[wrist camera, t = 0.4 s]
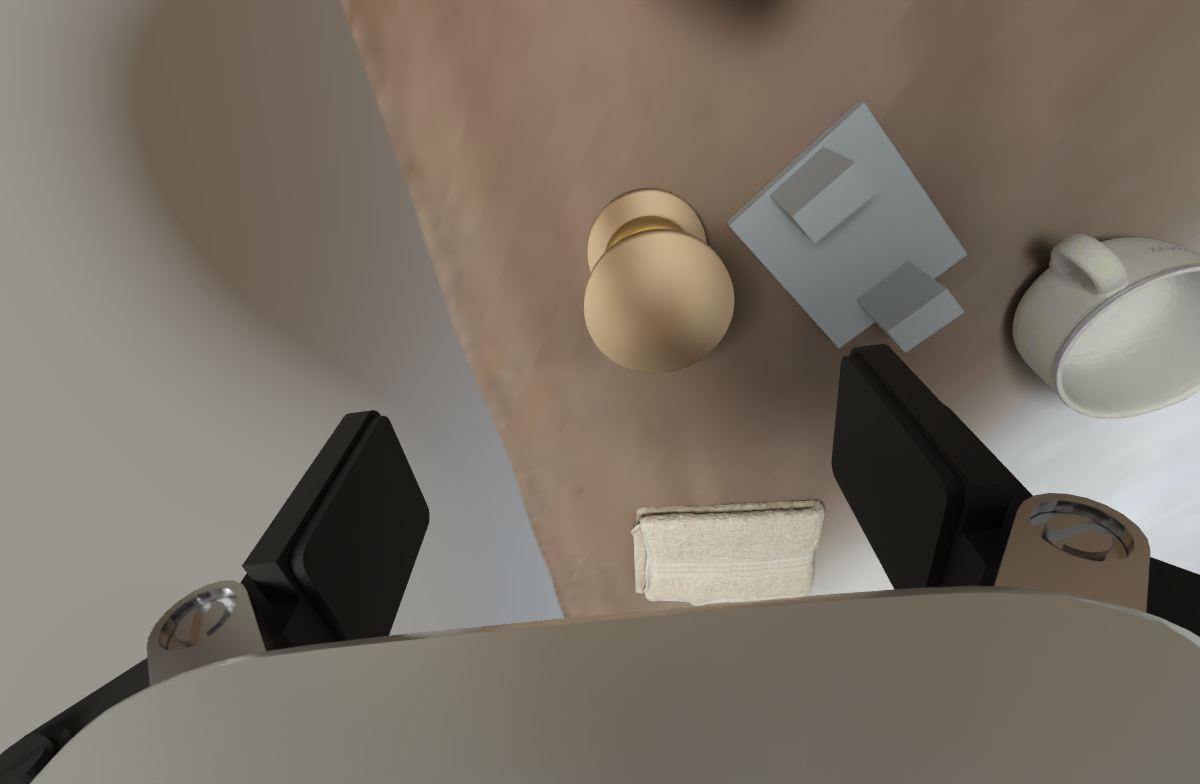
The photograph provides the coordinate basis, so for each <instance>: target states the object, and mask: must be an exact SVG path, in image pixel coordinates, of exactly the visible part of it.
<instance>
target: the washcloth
mask: <svg viewBox="0 0 1200 784" xmlns="http://www.w3.org/2000/svg"><path fill="white" fill-rule="evenodd" d="M824 516H825V511H824V507H823V505H822V504H821V503H820V501H819V500H818V501H816V500H815V501H814V500H809V501H808V500H807V501H779V502H778V501H777V502H768V503H763V502H761V503H751V502H749V503H748V502H747V503H746V504H745V503H736V504H735V503H734V504H726V505H722V504H720V505H715V506H711V505H700V506H690V507H686V506H680V507H678V506H670V507H641V508H637V519H636V523H635V526H634V528H633V529H632V530H631V532H630V533H632V536H633V538H634V558H635V560H634V561H635V582H636V592H637V593H645V595H646V598H647V599H648V600H650V601H660V600H661V601H681V602H688V603H691V604H692V605H694V606H702V605H706V604H709V603H721V602H749V601H760V600H771V599H783V598H794V597H803V596H805V595H807V594H809V593H810V592H811V588H812V585H813V576H814V565H813V559H814V553H815V548H817V547H818V545H819V542H820V536H821V535H822V534H821V531H822V529H823V521H824Z"/></svg>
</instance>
